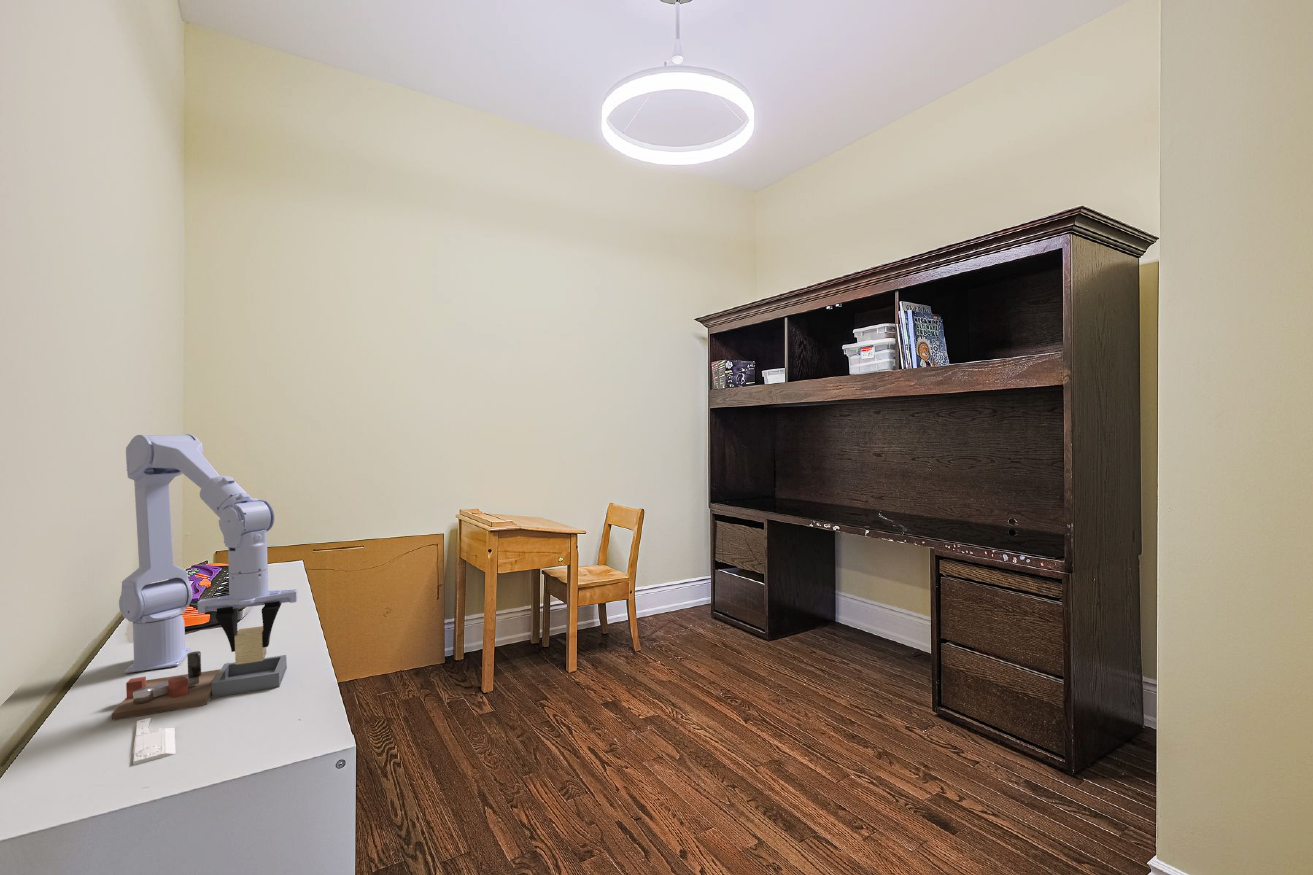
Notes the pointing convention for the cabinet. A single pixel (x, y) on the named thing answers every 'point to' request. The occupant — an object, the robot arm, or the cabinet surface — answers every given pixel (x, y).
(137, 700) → the crank
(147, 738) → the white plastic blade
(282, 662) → the tray
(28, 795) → the cabinet surface
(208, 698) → the crank base
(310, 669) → the cabinet surface
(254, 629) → the stop block
